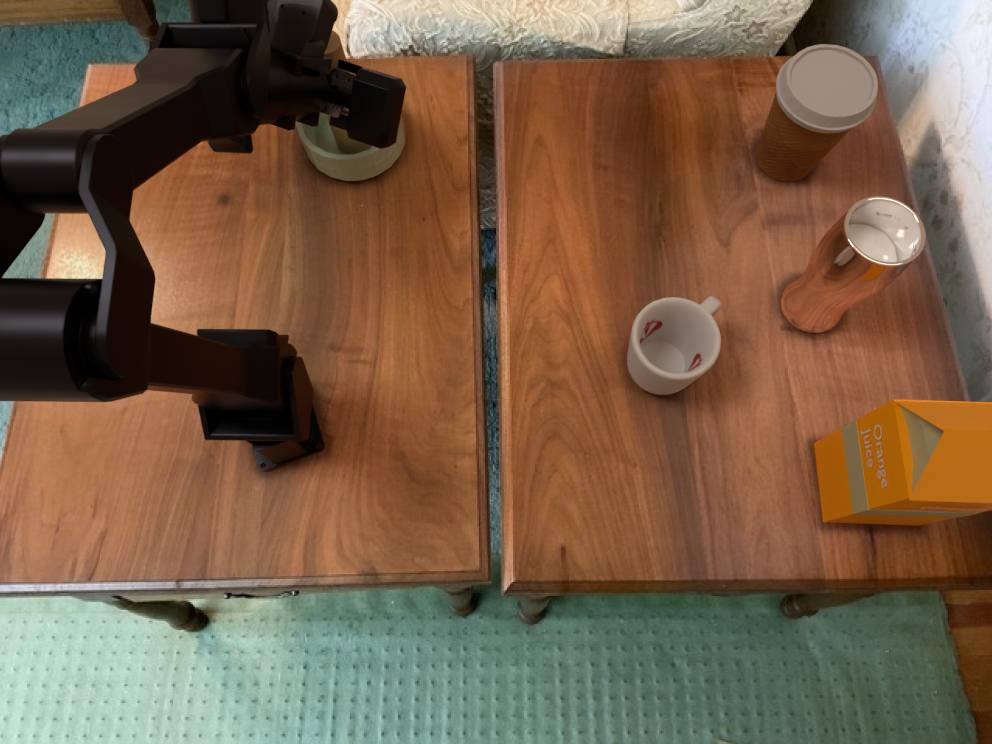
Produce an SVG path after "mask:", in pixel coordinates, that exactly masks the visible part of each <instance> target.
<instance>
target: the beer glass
mask: <svg viewBox="0 0 992 744" xmlns="http://www.w3.org/2000/svg"><path fill="white" fill-rule="evenodd" d="M926 235H927V234H926V228H925V226H924V223H923V221H922V219H921V218H920V217H919V215H918V214H917V213H916V212H915V211H914V210H913V208H912V207H910V206H909V205H907V204H906V203H904V202H902V201H900V200H898V199H896V198H892V197H889V196H883V195H882V196H881V195H880V196H879V195H875V196H868V197H865V198H861V199H860V200H858V201H856V202H854V204H853V205H852V206H850V208H849V209H848V210H846V212H845V213H844V214H842V215H841V217H839V219H838V220H837V221H835V223H833V225H832V226H831V227H829V229H828V230H827V231H826V232H825V234H824V235H823V236H822V238H821V239H820V240H819V242H818V243H817V245H816V247H815V249H814V251H813V252H812V254H811V257H810V259H809V261H808V263H807V266H806V268H805V270H804V272H803V274H802V275H801V276H800V277H798V278H797V279H796V280H794V281H792V282H790V283H789V284H788V285H787V286H786V287H785V289H784V290H783V291H782V294H781V299H780V308H781V311H782V313H783V316H784V317H785V319H786V320H787V321H788V322H789V323H790V325H792V326H793V327H794V328H796V329H798V330H800V331H803V332H805V333H810V334H820V333H825V332H827V331H829V330H831V329H833V328H834V327H835V326H836V325H837V324H838V323H839V321H840V320H841V318H842V316H843V314H844V313H845V312H846V311H847V310H848V309H850V308H852V307H854V306H856V305H857V304H860V303H862V302H864V301H866V300H867V299H869V298H872V297H874V296H875V295H877V294H879V293H881V291H883V290H884V289H885V288H886V287H888V286H889V285H891V283H892V284H893V282H894V281H895V280H896V279H897V278H898V277H899V276H900V275H902V274H903V272H904V271H905V270H906V269H907V268H908V267H909V266H910V265H911V264H912V262H913V261H915V260H916V259H917V258H918V257H919V256H920V255H921V253H922V251H923V250H924V248H925V245H926V238H927V237H926Z"/></svg>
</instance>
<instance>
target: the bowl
mask: <svg viewBox="0 0 992 744" xmlns="http://www.w3.org/2000/svg"><path fill="white" fill-rule="evenodd" d="M295 128H296V130H297V133H298V136H299V138H300V141H301V143H302V145H303V148H304V150H305V153H306V155H307V157H308V159H309V161H310V162H311V163H312V164H313V165H314V166H315V168H316V169H317V170H318V171H319V172H321V173H323V174H324V175H326V176H328V177H329V178H332V179H336V180H340V181H345V182H356V181H357V182H359V181H360V182H361V181H365V180H368V179H371V178H374V177H377V176H379V175H380V174H382V173H384V172H385V171H386V170H388V169H390V168H391V167H392V166H393V165H394V163H395V162H396V161H397V160H398V159H399V157H401V154H402V152H403V149H404V147H405V144H406V127H405V123H404V118H403V112H402V113H401V118H400V123H399V129H398V134H397V139H396V143H395V144H393V145H392V146H390V147H387V148H383V149H380V148H377V147H374V146H372V147H371V148H370V149H369V150H366V151H363V152H360V153H356V154H346V153H344V152H342V151H341V150H340V149H339V148H338V146H337V144H336V141H335V139H334V136H333V133H332V130H331V128H330V125H329V122H328V118H327V114H324V113H321V112H320V116H319V123H318V126H315V127H312V126H309V125H306V124H303V123H300V122H297V121H296V123H295Z"/></svg>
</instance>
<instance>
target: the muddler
mask: <svg viewBox="0 0 992 744" xmlns="http://www.w3.org/2000/svg"><path fill="white" fill-rule="evenodd" d="M324 57H327V58H330V59H332V64H331V70H332V69H334V68H337V66H338V59H340V60H343V61H346V62H348V60H347V57H346V53H345V50H344V46H343V43H342V40H341V36H340V35H339V34H338V32H336V31H335V30H332V33H331V36H330V39H329V43H328V46H327V49H326V51H325V52H324ZM327 118H328V122H330V115H327ZM330 128H331V130H332V133H333V136H334V139H335V141H336V144H337V146H338V148H339V149H340V150H341V151H342V152H344V153H346V154H356V153H360V152H363V151H366V150H369V149H370V148H371V147H372V146H371V145H368V144H365V143H362V142H359V141H356V140H353V139H350V138H349V137H348V134H347V131H346V130H343V129H340V128H337V127H334V126H331V125H330Z"/></svg>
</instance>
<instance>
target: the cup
mask: <svg viewBox="0 0 992 744" xmlns="http://www.w3.org/2000/svg"><path fill="white" fill-rule="evenodd" d="M721 308H722V301H720V300H719V298H716V297H715V296H713V295H711V296H708V297H707V298H706V299H704V300H703V301H702V302H701V303H698V302H696V301H693V300H691V299H687V298H685V297H677V296H669V297H663V298H659V299H656V300H654V301H652V302H649V303H648V304H646V305H645V307H643V308H642V309H641V310H640V311H639V312H638V314H637V315H636V317H635V318H634V321H633V323H632V326H631V330H630V335H629V336H630V337H629V341H628V342H629V343H628V347H627V353H626V354H627V355H626V365H627V369H628V373H629V375H630V377H631V379H632V380H633V381H634V383H635V384H636V385H637V387H639V388H641V389H642V390H643V391H646V392H648V393H650V394H653V395H657V396H668V395H672V394H675V393H678V392H680V391H682V390H684V389H685V388H687V387H688V386H690V385H691V384H692V383H694V382H695V381H696V380H698V379H699V378H700V377H701V376H703V375H704V374H706V373H707V372H708V371H709V370H710V369H711V368H712V367H713V366H714V364H715V363H716V362H717V360H718V357H719V355H720V352H721V348H722V347H721V346H722V336H721V331H720V328H719V326H718V323H717V321H716V319H715V318H714V317H715V316H716V314H718V312H719V311H720V309H721Z"/></svg>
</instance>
